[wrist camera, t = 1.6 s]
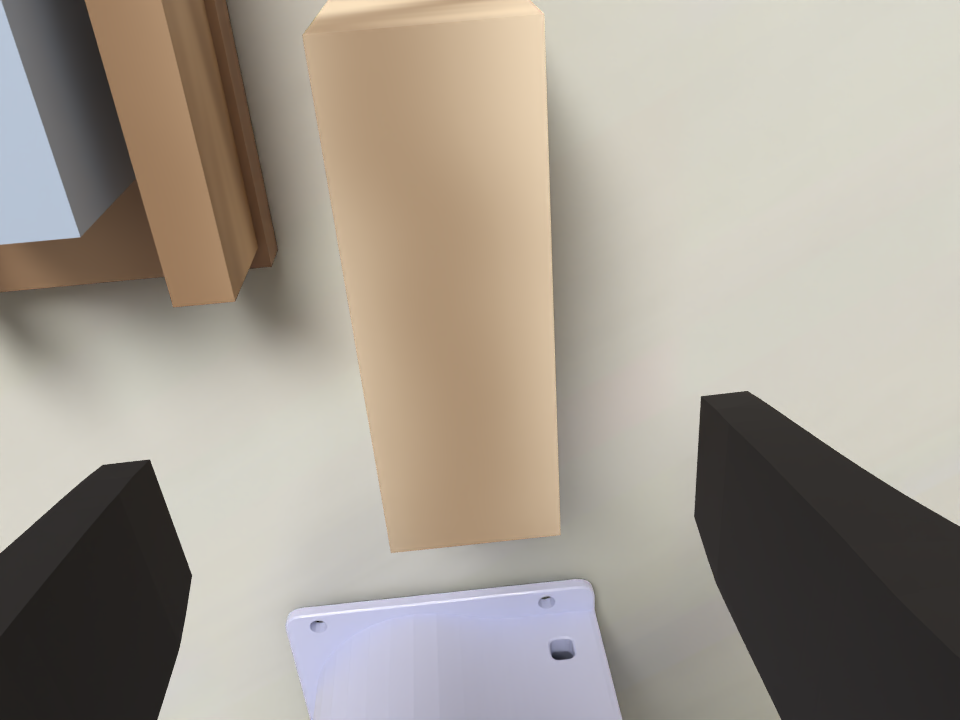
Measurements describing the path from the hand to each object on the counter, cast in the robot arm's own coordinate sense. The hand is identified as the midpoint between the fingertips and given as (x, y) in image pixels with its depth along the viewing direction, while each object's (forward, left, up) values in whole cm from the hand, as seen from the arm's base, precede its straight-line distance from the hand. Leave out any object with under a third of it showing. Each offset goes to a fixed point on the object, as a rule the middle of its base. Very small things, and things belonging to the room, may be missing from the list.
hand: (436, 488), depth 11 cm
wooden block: (0, 0, -10) cm, 10 cm away
